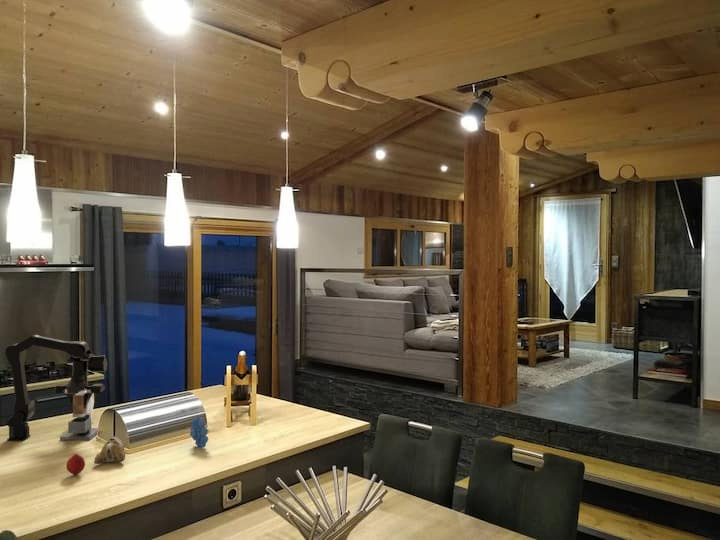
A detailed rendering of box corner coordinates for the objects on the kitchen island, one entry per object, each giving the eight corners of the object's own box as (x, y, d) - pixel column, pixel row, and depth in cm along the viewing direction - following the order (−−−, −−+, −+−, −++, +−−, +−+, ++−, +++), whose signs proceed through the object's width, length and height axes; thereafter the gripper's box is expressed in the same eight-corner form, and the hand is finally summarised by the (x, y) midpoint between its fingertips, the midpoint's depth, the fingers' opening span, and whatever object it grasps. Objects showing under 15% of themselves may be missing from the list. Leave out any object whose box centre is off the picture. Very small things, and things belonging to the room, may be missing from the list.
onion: (80, 470, 207) (80, 448, 207) (87, 474, 204) (88, 452, 203) (63, 475, 203) (63, 452, 203) (71, 479, 199) (71, 456, 199)
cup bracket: (60, 440, 241) (60, 420, 240) (72, 431, 252) (72, 412, 252) (89, 440, 241) (89, 419, 241) (100, 431, 253) (100, 412, 253)
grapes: (182, 445, 237) (182, 416, 236) (197, 441, 241) (198, 413, 241) (196, 452, 228) (196, 422, 228) (212, 448, 233) (212, 419, 233)
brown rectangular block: (72, 417, 243) (72, 395, 243) (76, 414, 248) (76, 393, 247) (82, 416, 244) (82, 395, 244) (86, 414, 248) (86, 393, 248)
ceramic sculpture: (129, 430, 226) (123, 445, 212) (130, 452, 227) (124, 468, 212) (100, 432, 224) (92, 447, 209) (100, 454, 224) (92, 470, 210)
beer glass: (77, 422, 266) (77, 390, 266) (93, 420, 269) (94, 388, 269) (76, 426, 260) (77, 393, 260) (94, 424, 263) (94, 392, 262)
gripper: (48, 375, 237) (48, 413, 237) (95, 375, 238) (95, 413, 238) (60, 370, 248) (60, 406, 248) (105, 370, 249) (105, 406, 249)
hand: (79, 408), depth 246 cm, fingers closed on brown rectangular block, 4 cm apart
